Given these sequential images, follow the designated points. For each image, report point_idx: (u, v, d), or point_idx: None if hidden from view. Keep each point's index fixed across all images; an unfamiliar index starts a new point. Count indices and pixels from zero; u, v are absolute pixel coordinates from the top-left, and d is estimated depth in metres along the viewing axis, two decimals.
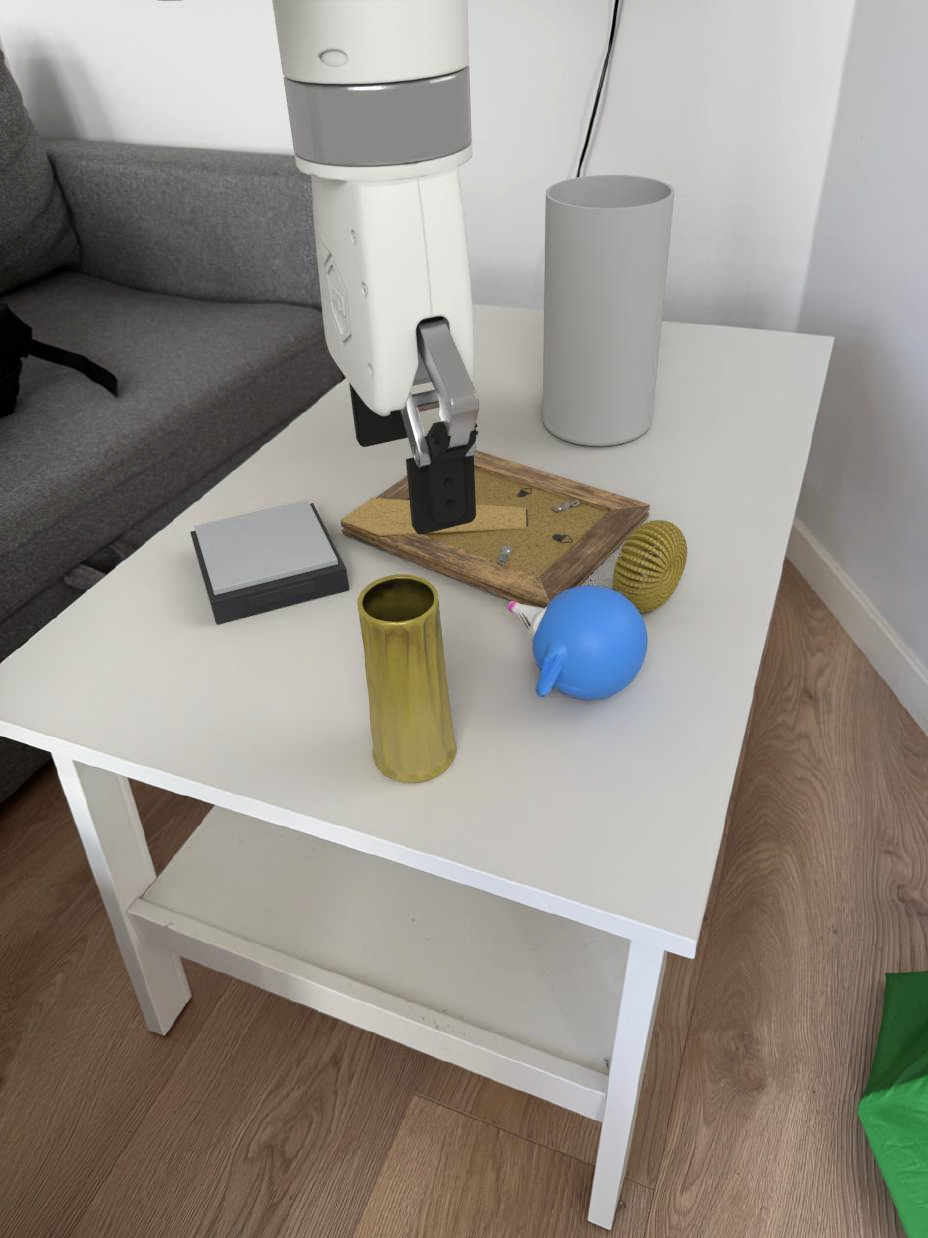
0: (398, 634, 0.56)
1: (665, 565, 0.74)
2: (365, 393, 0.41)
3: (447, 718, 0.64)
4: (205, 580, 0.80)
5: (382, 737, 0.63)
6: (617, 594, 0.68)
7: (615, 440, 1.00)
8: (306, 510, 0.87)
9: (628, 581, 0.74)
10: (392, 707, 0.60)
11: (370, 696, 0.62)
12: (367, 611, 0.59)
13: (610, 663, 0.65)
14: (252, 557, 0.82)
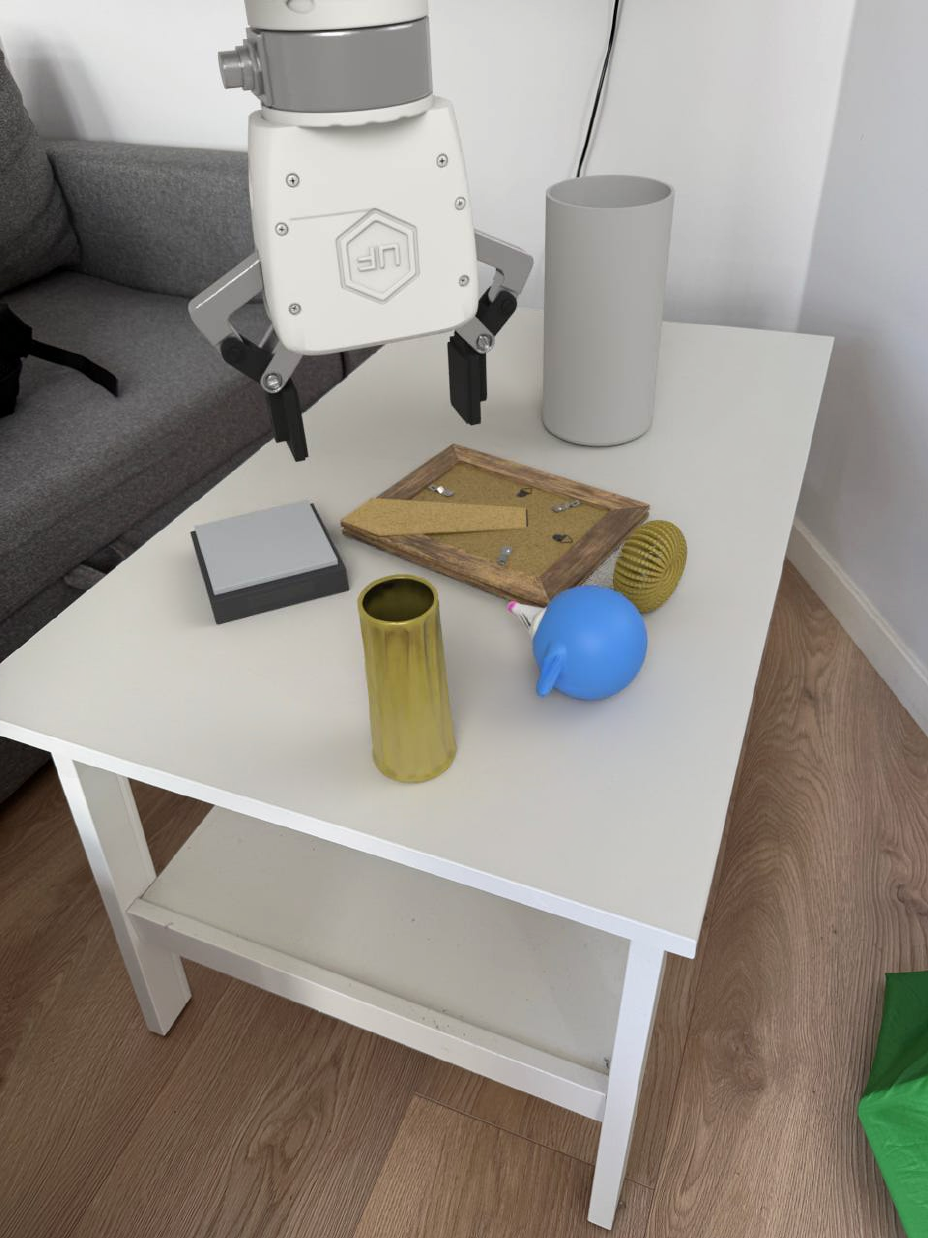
0: (398, 634, 0.56)
1: (665, 565, 0.74)
2: (447, 316, 0.44)
3: (447, 718, 0.64)
4: (205, 580, 0.80)
5: (382, 737, 0.63)
6: (617, 594, 0.68)
7: (615, 440, 1.00)
8: (306, 510, 0.87)
9: (628, 581, 0.74)
10: (392, 708, 0.60)
11: (370, 696, 0.62)
12: (367, 611, 0.59)
13: (610, 663, 0.65)
14: (252, 557, 0.82)
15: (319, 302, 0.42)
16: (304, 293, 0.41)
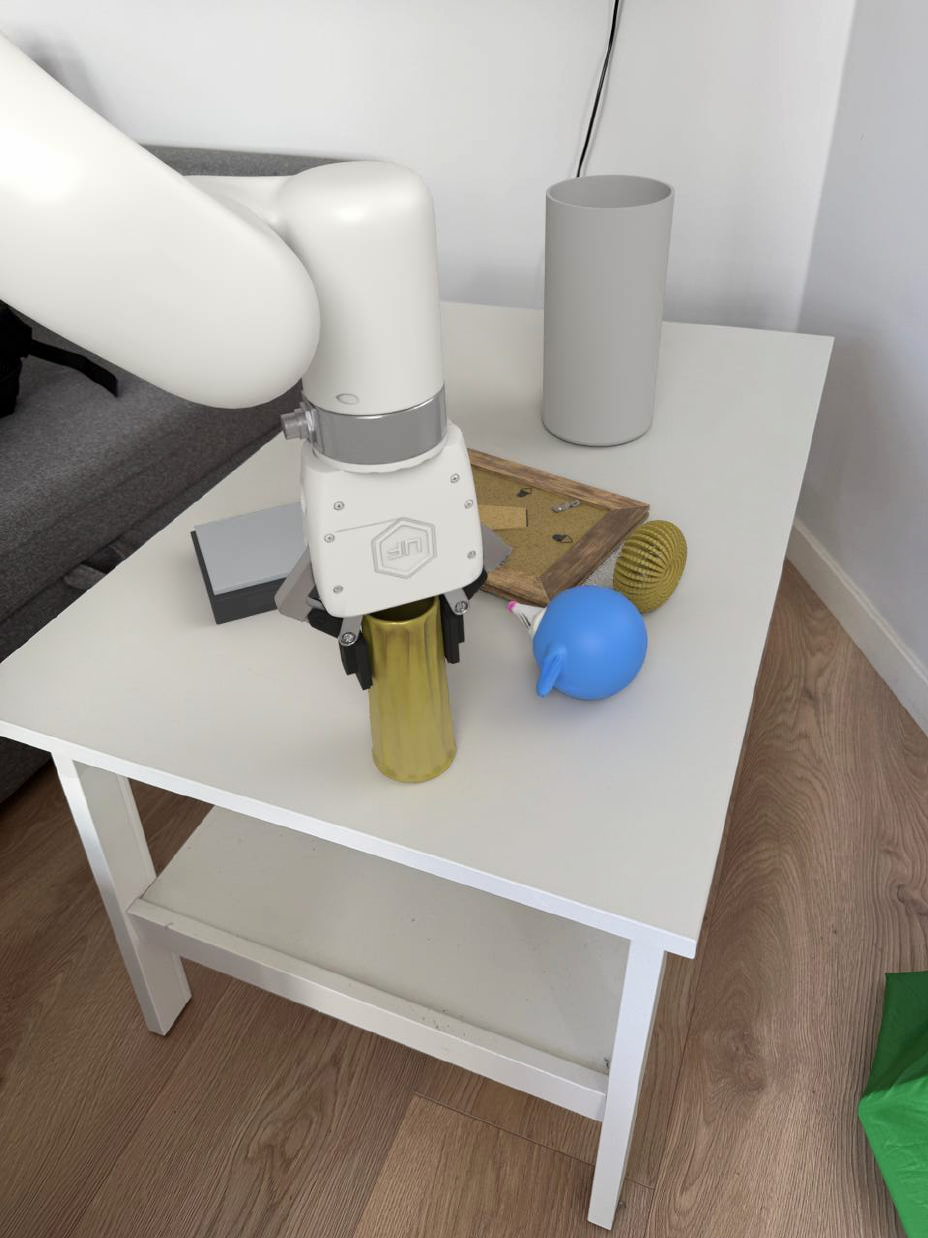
0: (399, 634, 0.56)
1: (665, 565, 0.74)
2: (458, 580, 0.55)
3: (447, 718, 0.64)
4: (205, 580, 0.80)
5: (382, 737, 0.63)
6: (617, 594, 0.68)
7: (615, 440, 1.00)
8: None
9: (628, 581, 0.74)
10: (392, 707, 0.60)
11: (370, 696, 0.62)
12: None
13: (610, 663, 0.65)
14: (252, 557, 0.82)
15: (357, 583, 0.52)
16: (345, 578, 0.52)
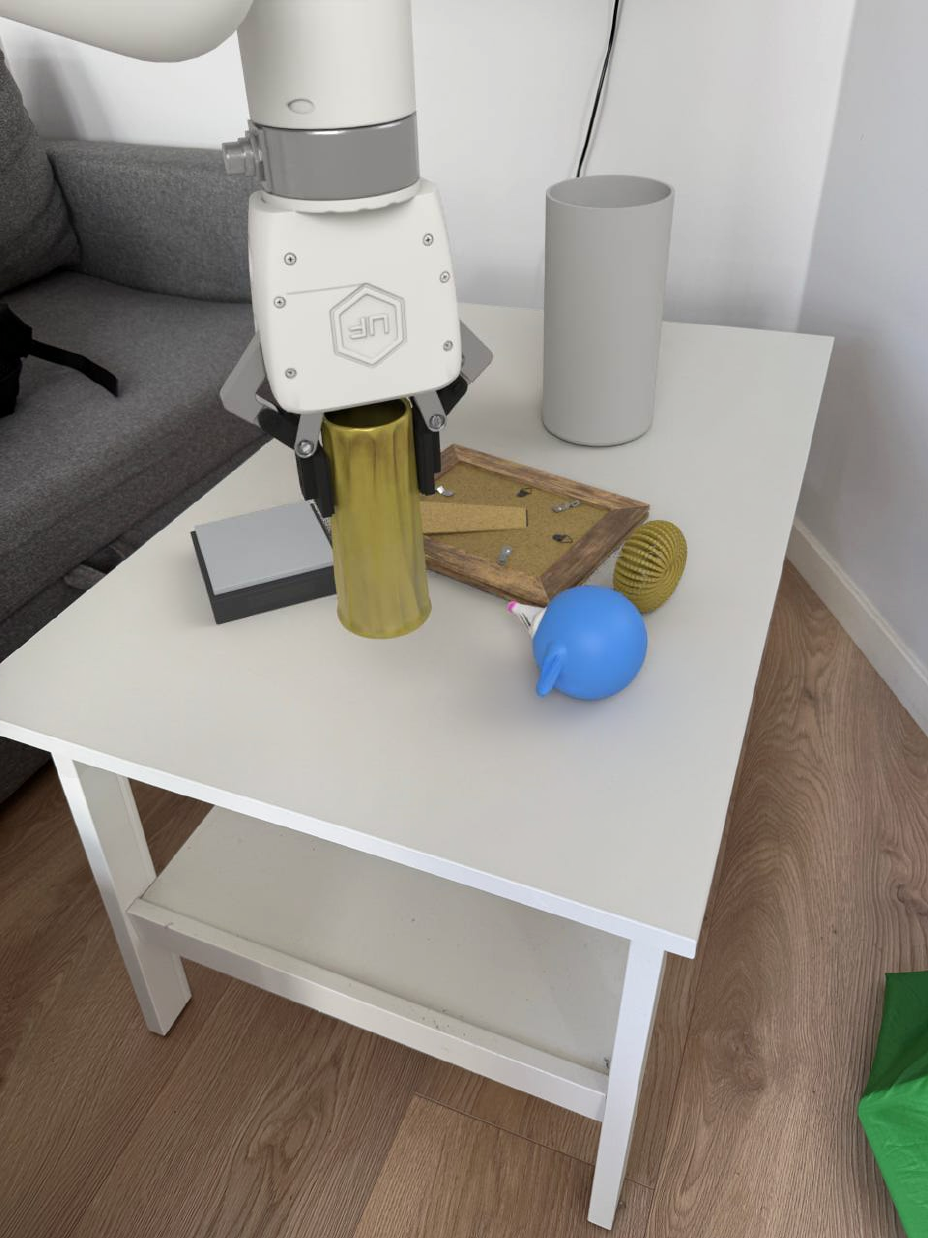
0: (363, 444, 0.49)
1: (665, 565, 0.74)
2: (432, 377, 0.48)
3: (421, 565, 0.56)
4: (205, 580, 0.80)
5: (346, 583, 0.55)
6: (617, 594, 0.68)
7: (615, 440, 1.00)
8: (306, 510, 0.87)
9: (628, 581, 0.74)
10: (357, 542, 0.53)
11: (333, 532, 0.54)
12: None
13: (610, 663, 0.65)
14: (252, 557, 0.82)
15: (313, 367, 0.45)
16: (299, 359, 0.45)
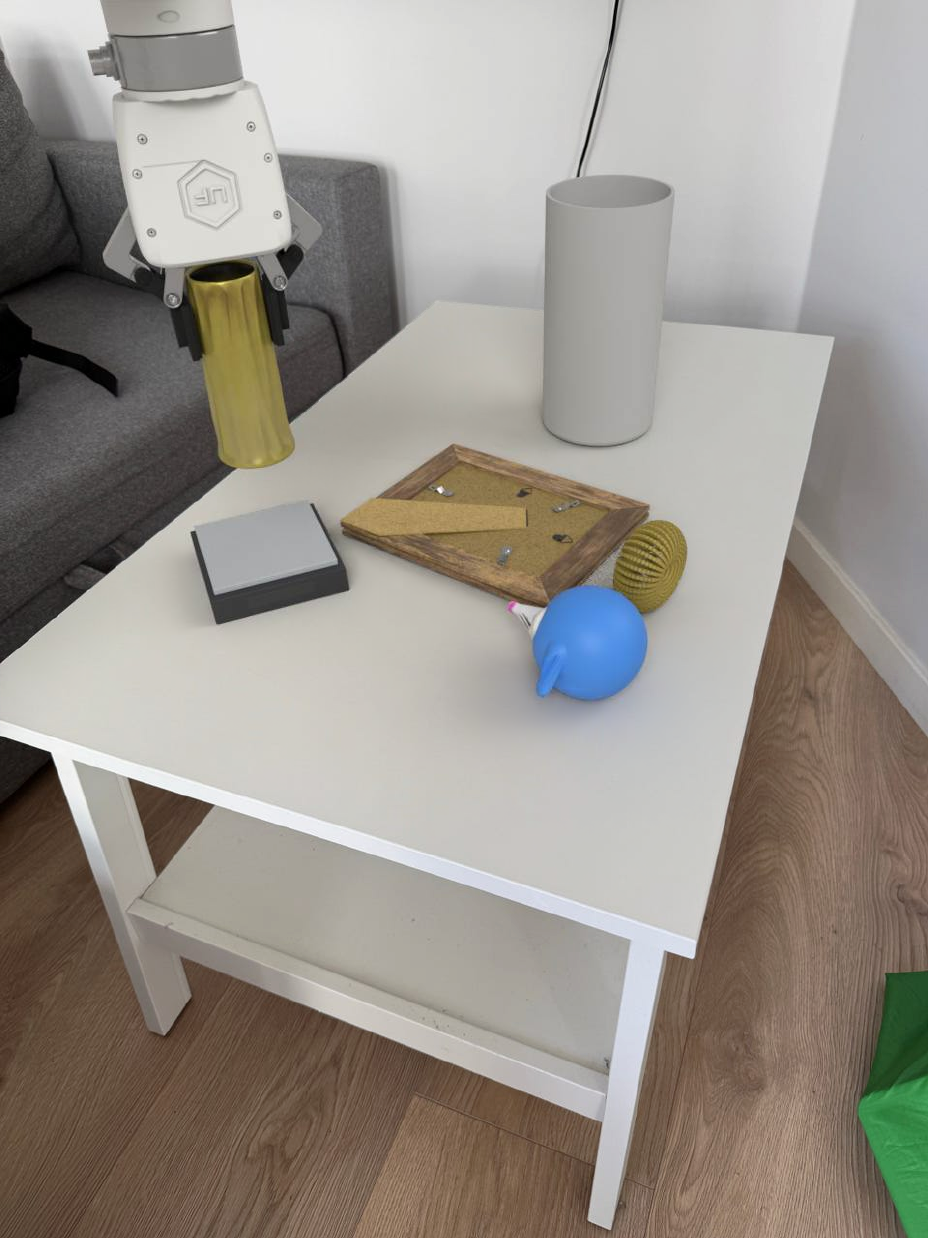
0: (217, 295, 0.63)
1: (665, 565, 0.74)
2: (267, 240, 0.62)
3: (280, 407, 0.70)
4: (205, 580, 0.80)
5: (219, 420, 0.69)
6: (617, 594, 0.68)
7: (615, 440, 1.00)
8: (306, 510, 0.87)
9: (628, 581, 0.74)
10: (222, 382, 0.67)
11: (205, 377, 0.68)
12: None
13: (610, 663, 0.65)
14: (252, 557, 0.82)
15: (169, 227, 0.59)
16: (157, 221, 0.59)
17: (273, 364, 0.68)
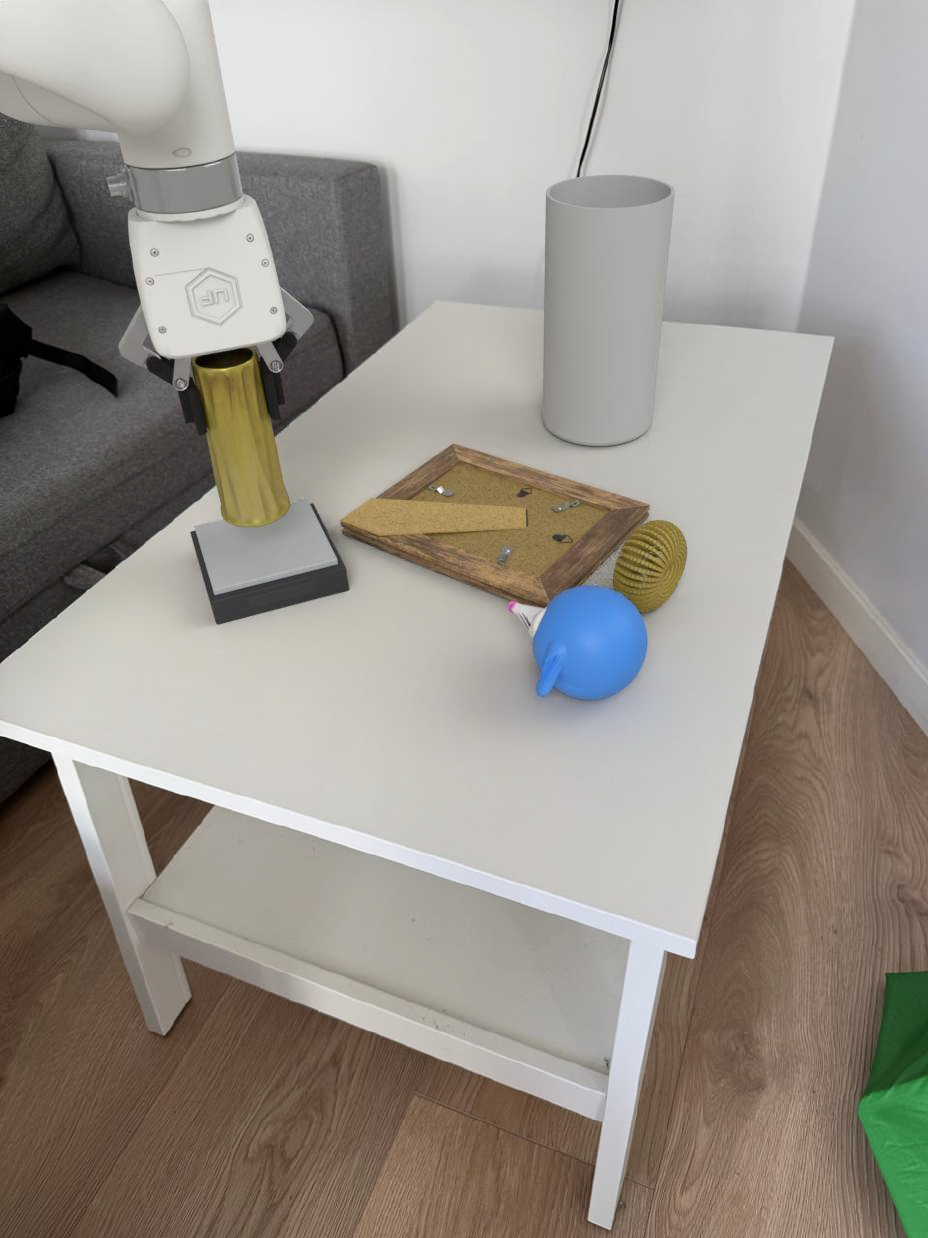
0: (220, 380, 0.71)
1: (665, 565, 0.74)
2: (264, 332, 0.69)
3: (277, 472, 0.78)
4: (205, 580, 0.80)
5: (222, 485, 0.77)
6: (617, 594, 0.68)
7: (615, 440, 1.00)
8: (306, 510, 0.87)
9: (628, 581, 0.74)
10: (224, 453, 0.75)
11: (209, 447, 0.76)
12: None
13: (610, 663, 0.65)
14: (252, 557, 0.82)
15: (177, 325, 0.67)
16: (167, 320, 0.66)
17: (270, 435, 0.76)
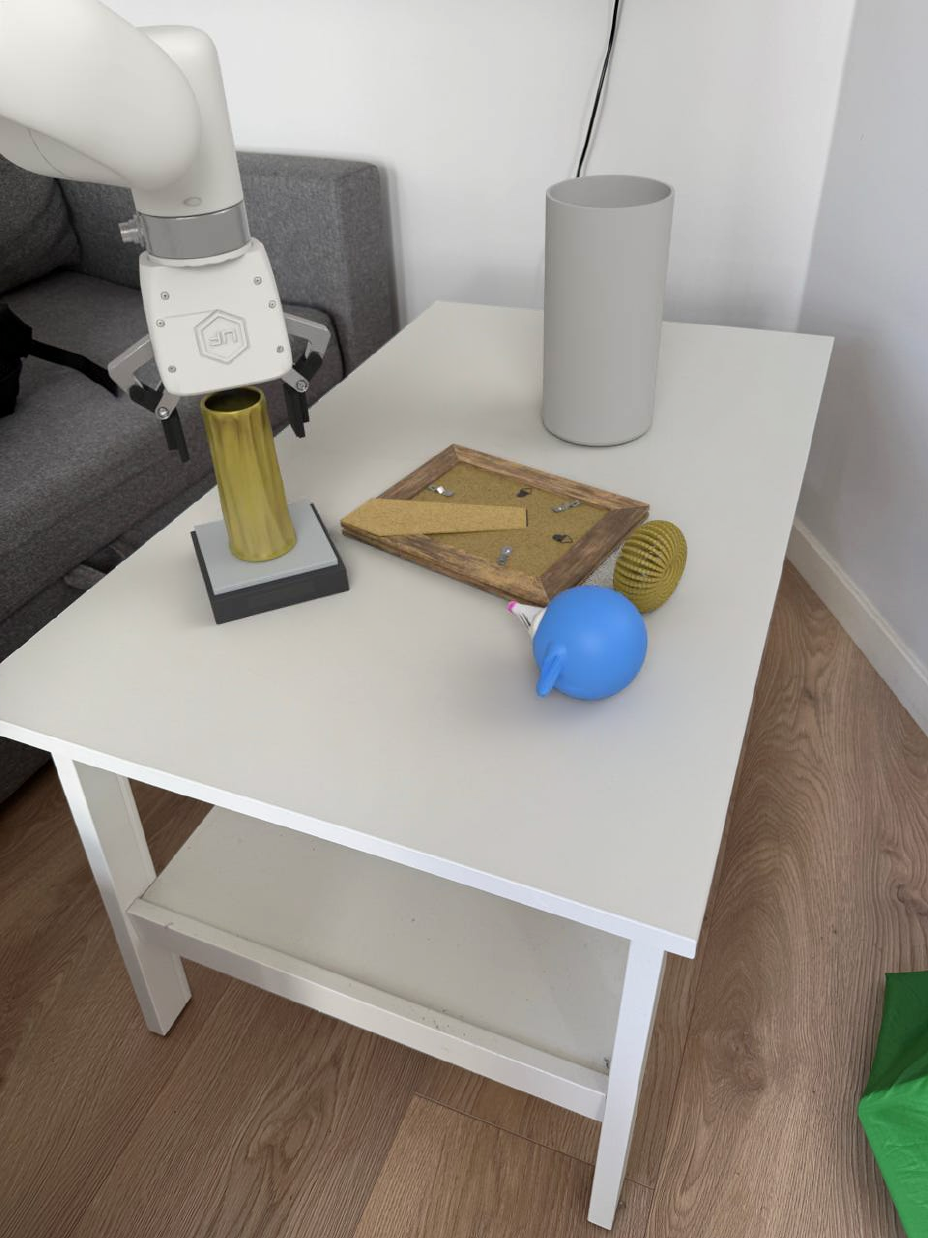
0: (229, 422, 0.73)
1: (665, 565, 0.74)
2: (271, 370, 0.71)
3: (283, 509, 0.80)
4: (205, 580, 0.80)
5: (230, 521, 0.79)
6: (617, 594, 0.68)
7: (615, 440, 1.00)
8: (306, 510, 0.87)
9: (628, 581, 0.74)
10: (233, 491, 0.77)
11: (218, 485, 0.78)
12: None
13: (610, 663, 0.65)
14: None
15: (187, 364, 0.69)
16: (177, 359, 0.68)
17: (277, 473, 0.78)
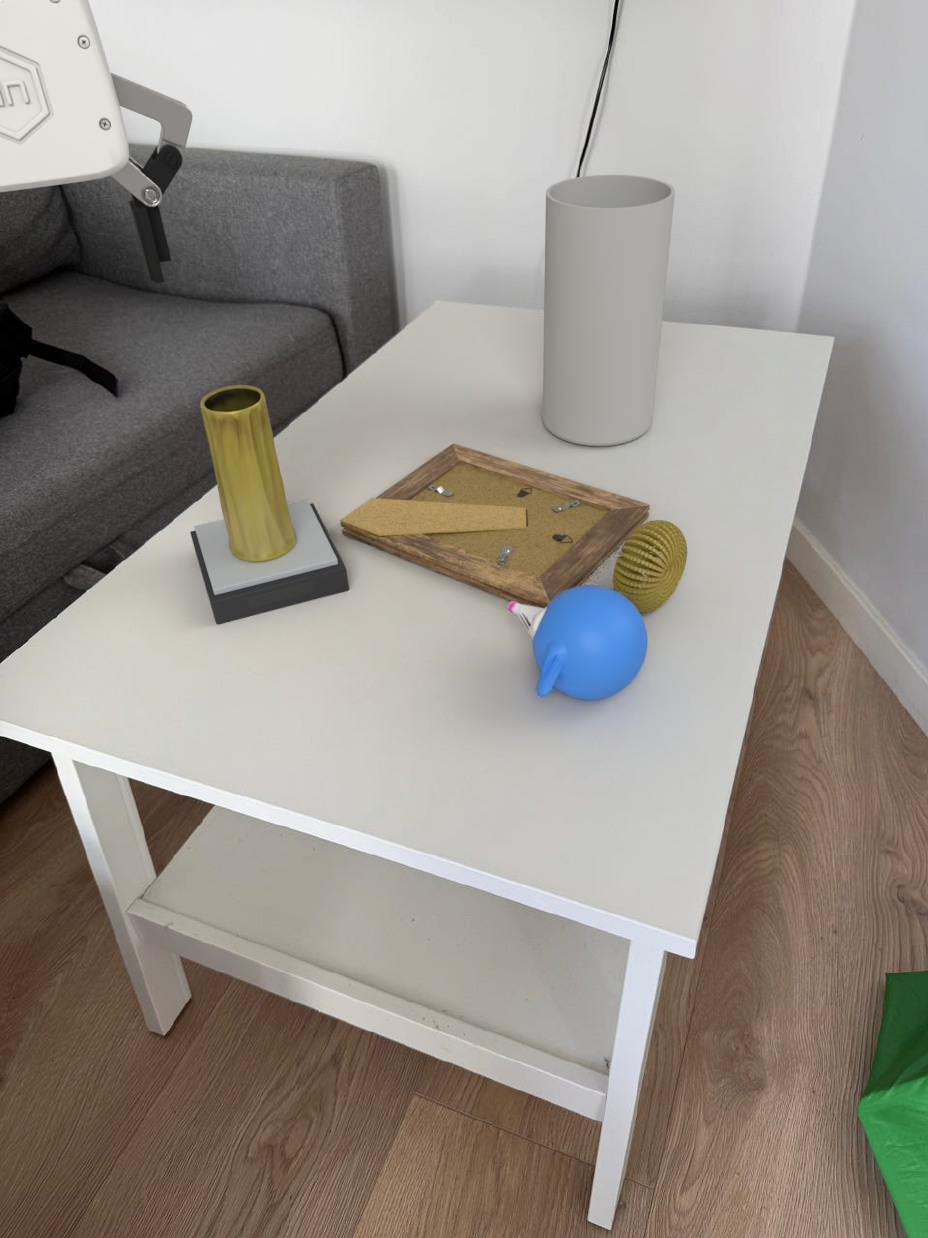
0: (229, 422, 0.73)
1: (665, 565, 0.74)
2: (93, 160, 0.46)
3: (283, 508, 0.80)
4: (205, 580, 0.80)
5: (230, 521, 0.79)
6: (617, 594, 0.68)
7: (615, 440, 1.00)
8: (306, 510, 0.87)
9: (628, 581, 0.74)
10: (233, 491, 0.77)
11: (218, 485, 0.78)
12: None
13: (610, 663, 0.65)
14: None
15: None
16: None
17: (277, 473, 0.78)
